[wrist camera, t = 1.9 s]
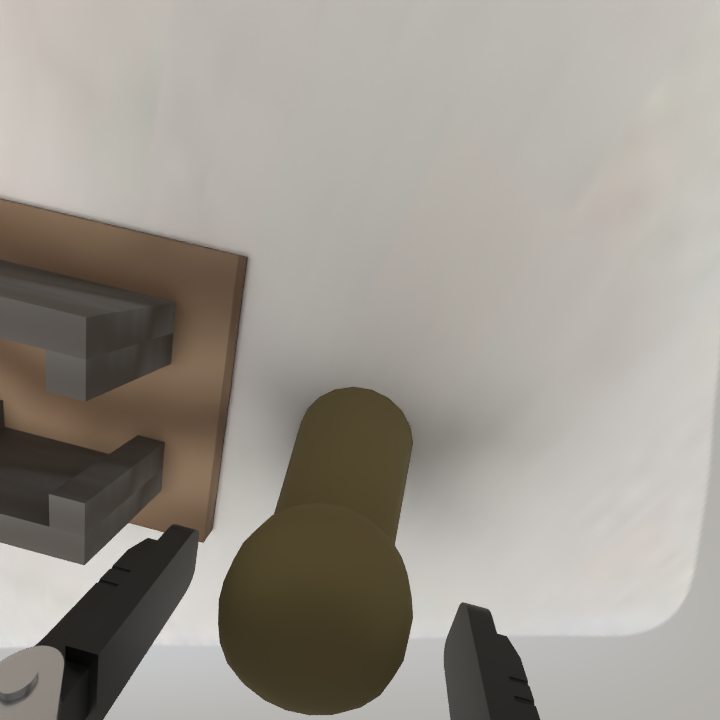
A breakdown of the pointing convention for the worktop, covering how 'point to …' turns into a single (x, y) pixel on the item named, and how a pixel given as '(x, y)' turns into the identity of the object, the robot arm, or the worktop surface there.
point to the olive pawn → (326, 565)
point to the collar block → (109, 380)
